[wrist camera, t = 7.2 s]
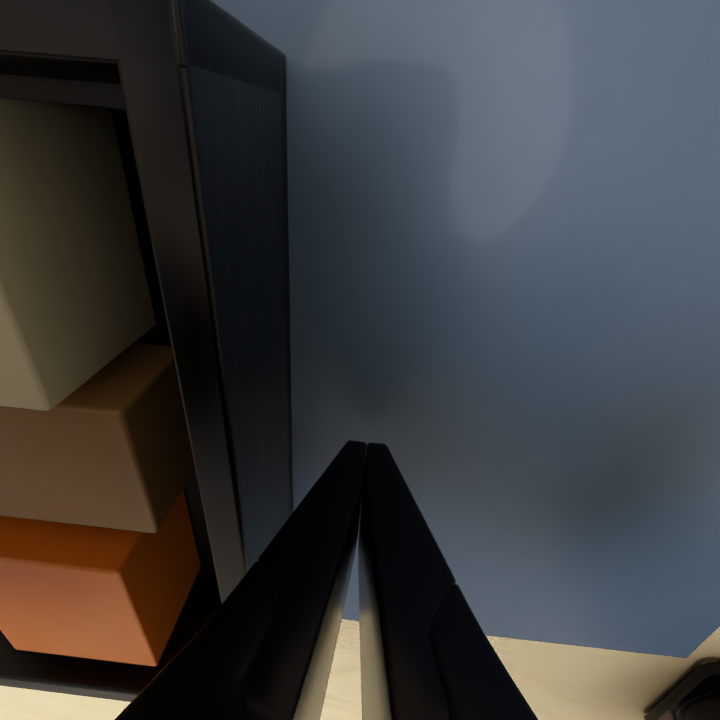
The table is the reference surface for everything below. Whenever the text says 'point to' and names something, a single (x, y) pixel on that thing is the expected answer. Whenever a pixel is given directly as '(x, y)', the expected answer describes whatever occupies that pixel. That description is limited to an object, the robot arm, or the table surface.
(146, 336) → the black open tray
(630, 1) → the blue flat slab
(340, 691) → the table surface
